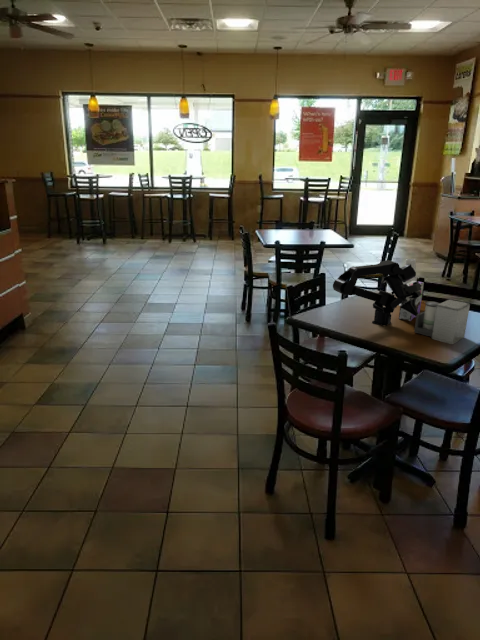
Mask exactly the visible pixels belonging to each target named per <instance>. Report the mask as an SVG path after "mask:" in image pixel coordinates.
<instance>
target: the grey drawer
mask: <svg viewBox="0 0 480 640" xmlns="http://www.w3.org/2000/svg"><path fill="white" fill-rule="evenodd" d="M424 313H425V310H424V311H421V312H420V313H419V314H417V316H416V317H415V324H414V331H413V332H414V333H416V334H420V335H423V336H427V337H431V338H432V334H433V331H431V330H427V329H423V328H422V327H423V320H424Z"/></svg>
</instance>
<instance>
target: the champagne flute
mask: <svg viewBox="0 0 480 640" xmlns="http://www.w3.org/2000/svg"><path fill="white" fill-rule="evenodd" d="M416 263H417V261H416V258H406V259H405V262H404V266H405V265H407V264H410V265H411V267H412V268H413V269H414V270H415V271H416ZM411 281H416V276H415V277H414V278H412V279H410V280H408V281H406V282H403V284H408V283H410V282H411ZM400 305H401V304H399V305H398V306H399V307H400Z"/></svg>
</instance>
